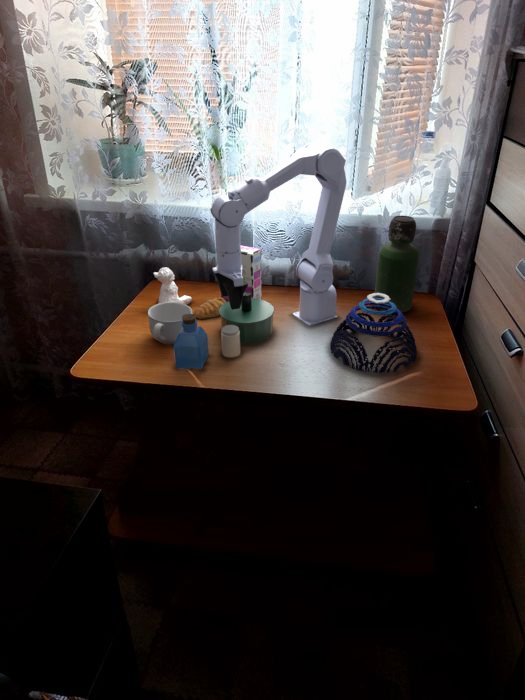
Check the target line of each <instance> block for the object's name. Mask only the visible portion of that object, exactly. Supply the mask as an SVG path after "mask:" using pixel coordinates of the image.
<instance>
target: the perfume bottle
mask: <svg viewBox="0 0 525 700" xmlns="http://www.w3.org/2000/svg"><path fill="white" fill-rule="evenodd" d="M182 320H183V321H182V322H181V323H182V327H183V328H182V329H181V331H180V332H179V334H178V336H177V339H176V341H175V343H174V344H173V354H174V362H175V363H174V364H175V369H178V370H179V369H180V370H189V371H190V370H191V369H201V370H202V369H203V368H204V365H205V363H206V361H207V359H208V357H209V355H210V352H209V337H208V335H209V334H208V333H207V331H206V330H204V328H203V327H202V326H201V325H198V321H197V317H196V315H194V313H192V314H185V315H183V316H182Z"/></svg>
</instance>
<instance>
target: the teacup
mask: <svg viewBox="0 0 525 700" xmlns="http://www.w3.org/2000/svg"><path fill="white" fill-rule="evenodd" d="M185 314H193V309H192V308H191V306H189V305H188V304H187V305H185V304H182V303H177V302H164V303H159V304H158V303H156V304H154V305H152V306H151V307H149V309H148V310H147V316H148V327H149V332H150V334H151V336H152V337H153V339H155V340H156V341H157V342H159V343H162V344H164V345H174V343H175V341H176V339H177V336H178V334H179V332H180V331H181V329H182V328H183V327H182V323H181V322H182V321H183V320H182V316H183V315H185Z"/></svg>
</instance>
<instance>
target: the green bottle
mask: <svg viewBox="0 0 525 700" xmlns="http://www.w3.org/2000/svg"><path fill="white" fill-rule="evenodd" d="M416 232H417V222H416V220H415V218H414V217H412V216H409V215H395V216H393V218H392V219H391V221H390V223H389V226H388V235H387V236H388V240H389V242H386V243H385V244H384V245H382V246H381V247H380V249H379V252H378V259H377V268H376V277H375V286H374V293H381V294H385V295H387V296H389V298H390V299H391V300H389V301H390V302H392V303H394V304H395V305H396V308H397V309H398V310H400V312H401V313H402V314H404V313H406V312H408V311H410V310H411V309H412V307H413V301H414V294H415V286H416V282H417V281H416V280H417V273H418V267H419V259H420V251H419V249H418V248H417V246H416V245H414V244H412V243H413V242H414V239H415V235H416ZM373 298H383V297H380V296H375V297H373ZM383 299H385V298H383ZM385 304H388V303H387V302H386V303H385ZM389 305H390V304H389ZM373 306H377V305H373ZM378 306H381V305H378ZM382 307H385V308H390V307H387V306H382ZM378 311H386V310H381V309H378Z"/></svg>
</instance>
